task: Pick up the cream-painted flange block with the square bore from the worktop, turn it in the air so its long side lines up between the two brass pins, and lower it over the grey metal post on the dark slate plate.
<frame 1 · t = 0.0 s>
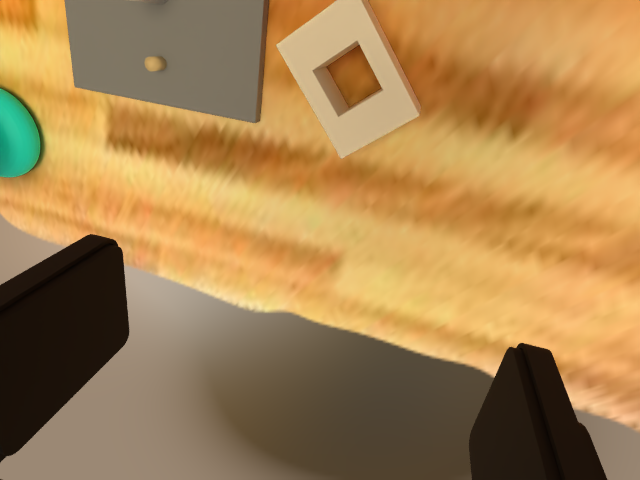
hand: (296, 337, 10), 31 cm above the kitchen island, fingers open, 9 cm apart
donuts: (9, 129, 48), on the kitchen island
flange block: (357, 75, 37), on the kitchen island
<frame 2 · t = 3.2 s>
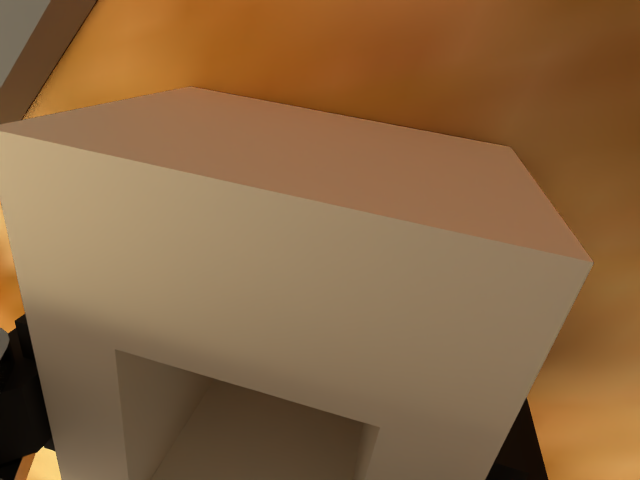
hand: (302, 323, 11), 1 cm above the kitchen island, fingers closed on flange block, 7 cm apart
flange block: (311, 305, 11), on the kitchen island, touching gripper
when the fingers open (4 cm above the kitchen island, at t = 8.6 s): flange block drops 2 cm, resting on pin plate.
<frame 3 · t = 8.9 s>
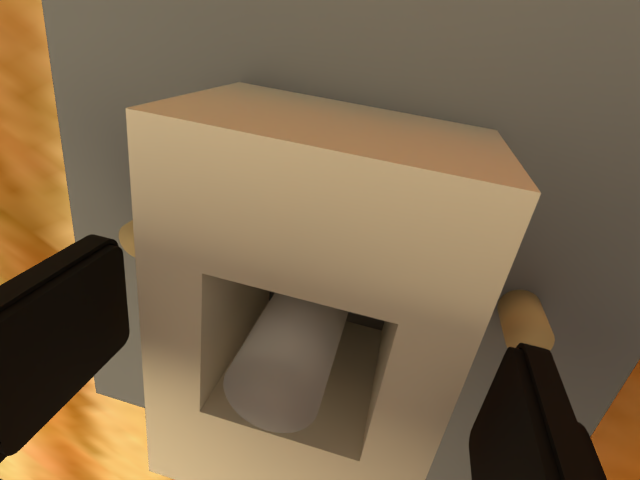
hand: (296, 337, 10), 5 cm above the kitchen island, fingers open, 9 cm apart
pin plate: (338, 245, 15), on the kitchen island
flange block: (333, 265, 14), point 1 cm above the kitchen island, touching pin plate
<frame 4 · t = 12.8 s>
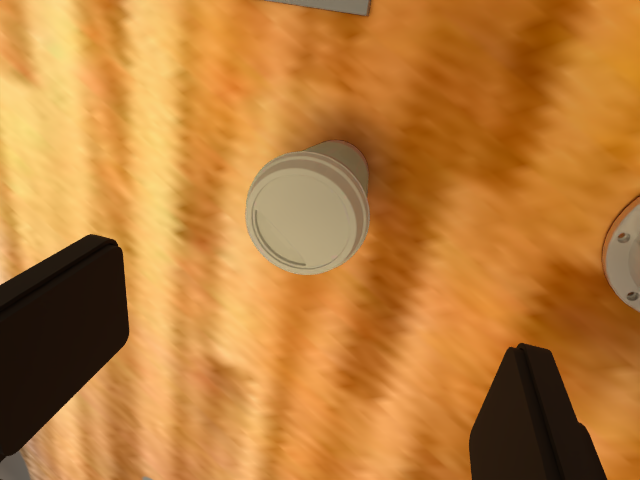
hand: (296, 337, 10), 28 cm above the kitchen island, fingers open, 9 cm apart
coffee cup: (336, 172, 38), on the kitchen island
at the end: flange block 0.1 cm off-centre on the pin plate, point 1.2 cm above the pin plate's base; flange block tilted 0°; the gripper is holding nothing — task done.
